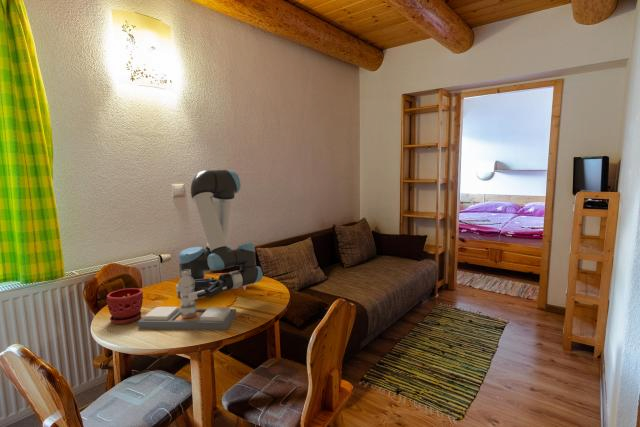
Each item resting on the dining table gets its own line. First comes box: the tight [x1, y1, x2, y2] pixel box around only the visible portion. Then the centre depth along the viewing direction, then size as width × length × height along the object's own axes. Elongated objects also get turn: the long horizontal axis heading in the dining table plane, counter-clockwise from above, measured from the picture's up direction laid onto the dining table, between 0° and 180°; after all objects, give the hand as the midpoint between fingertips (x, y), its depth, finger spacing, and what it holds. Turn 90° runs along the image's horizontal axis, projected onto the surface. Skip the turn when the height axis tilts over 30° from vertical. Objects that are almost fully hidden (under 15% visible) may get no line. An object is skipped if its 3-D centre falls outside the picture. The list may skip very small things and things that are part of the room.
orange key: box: [175, 312, 203, 321], centre depth 138 cm, size 9×9×2 cm
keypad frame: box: [137, 308, 237, 331], centre depth 138 cm, size 13×36×3 cm, turn 88°
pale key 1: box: [143, 306, 179, 320], centre depth 139 cm, size 9×9×2 cm
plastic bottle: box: [177, 269, 198, 318], centre depth 137 cm, size 6×7×20 cm
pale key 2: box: [200, 306, 232, 321], centre depth 138 cm, size 9×9×2 cm
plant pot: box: [106, 287, 144, 325], centre depth 141 cm, size 13×13×12 cm
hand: (182, 292), depth 135 cm, fingers open, 13 cm apart
